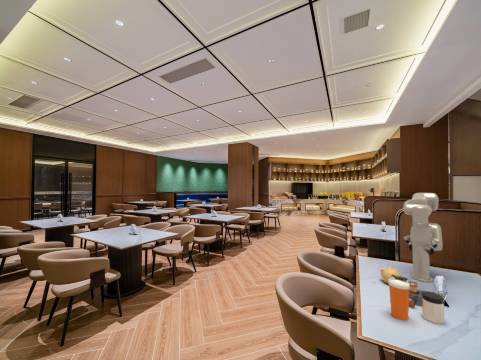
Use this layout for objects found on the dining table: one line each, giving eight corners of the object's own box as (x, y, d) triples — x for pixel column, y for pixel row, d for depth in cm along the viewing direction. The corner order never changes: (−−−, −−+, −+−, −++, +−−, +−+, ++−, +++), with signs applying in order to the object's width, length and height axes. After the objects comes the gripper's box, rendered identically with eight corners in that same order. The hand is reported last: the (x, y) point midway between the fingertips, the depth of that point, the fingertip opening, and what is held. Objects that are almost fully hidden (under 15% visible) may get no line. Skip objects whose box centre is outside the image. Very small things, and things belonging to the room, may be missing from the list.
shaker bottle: (412, 323, 102) (411, 282, 103) (389, 317, 107) (388, 277, 108) (409, 314, 109) (408, 275, 110) (388, 309, 114) (387, 272, 115)
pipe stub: (408, 297, 128) (408, 280, 128) (419, 300, 124) (418, 283, 125) (407, 299, 124) (407, 282, 125) (417, 303, 121) (417, 285, 121)
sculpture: (394, 280, 151) (394, 265, 152) (406, 287, 139) (405, 271, 140) (378, 279, 152) (377, 264, 153) (388, 287, 141) (387, 270, 141)
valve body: (403, 294, 132) (403, 285, 132) (426, 301, 124) (426, 291, 124) (397, 303, 121) (397, 294, 121) (422, 312, 112) (422, 301, 113)
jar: (448, 321, 104) (447, 297, 104) (440, 326, 100) (439, 300, 101) (426, 312, 112) (425, 289, 112) (418, 316, 108) (417, 292, 109)
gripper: (439, 226, 127) (440, 254, 127) (404, 222, 140) (405, 248, 140) (438, 228, 122) (439, 257, 122) (402, 224, 135) (402, 250, 135)
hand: (421, 252), depth 131 cm, fingers open, 9 cm apart
